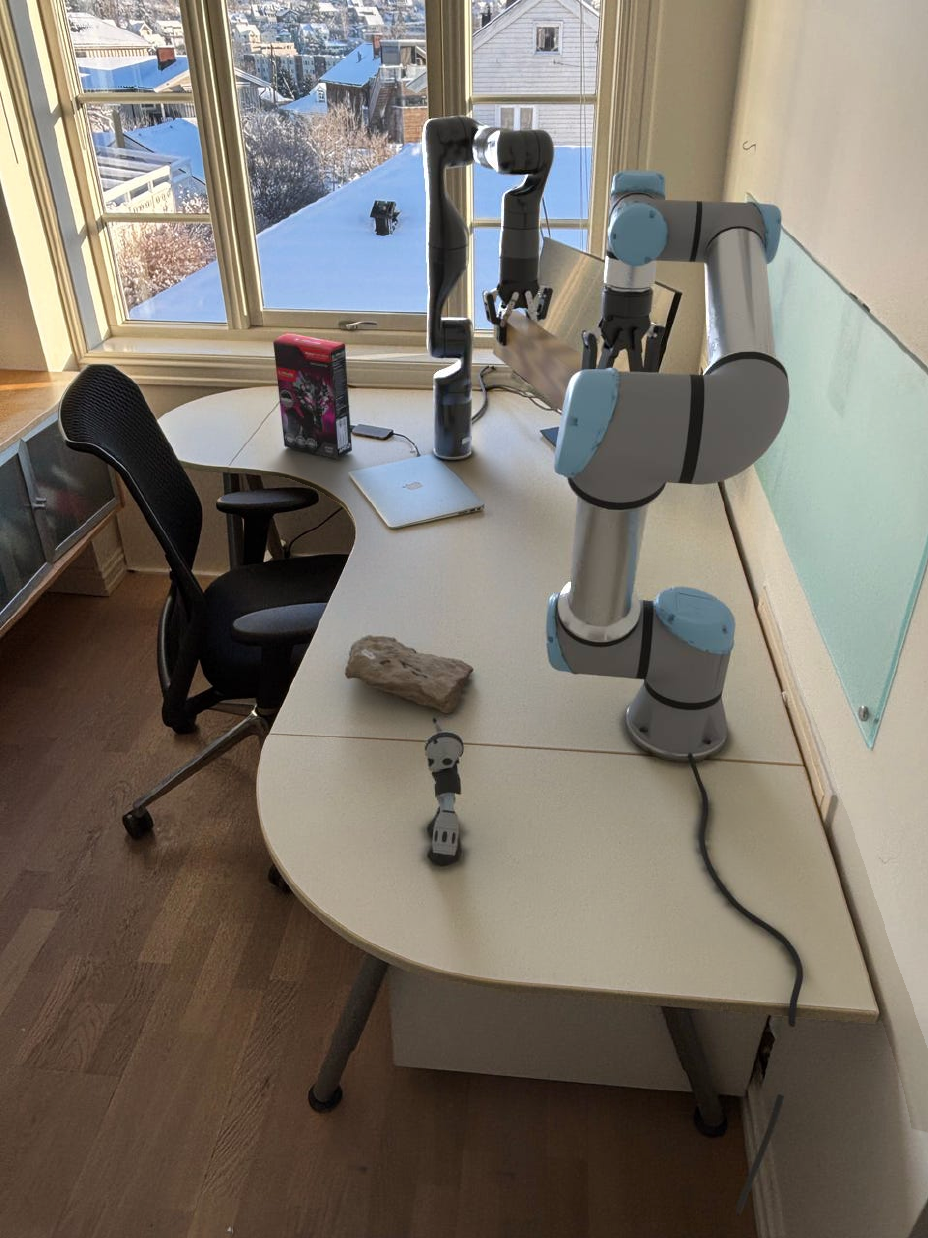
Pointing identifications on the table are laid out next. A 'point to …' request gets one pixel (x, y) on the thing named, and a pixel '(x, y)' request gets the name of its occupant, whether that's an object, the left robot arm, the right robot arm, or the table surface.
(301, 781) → the table surface
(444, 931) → the table surface
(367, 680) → the stone
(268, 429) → the table surface
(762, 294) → the right robot arm
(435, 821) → the robot
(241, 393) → the table surface
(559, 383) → the bar
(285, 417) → the graphics card box
